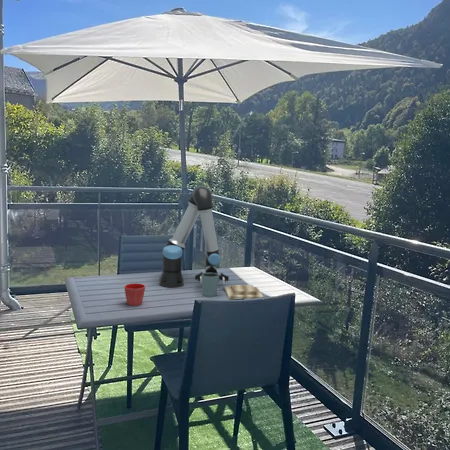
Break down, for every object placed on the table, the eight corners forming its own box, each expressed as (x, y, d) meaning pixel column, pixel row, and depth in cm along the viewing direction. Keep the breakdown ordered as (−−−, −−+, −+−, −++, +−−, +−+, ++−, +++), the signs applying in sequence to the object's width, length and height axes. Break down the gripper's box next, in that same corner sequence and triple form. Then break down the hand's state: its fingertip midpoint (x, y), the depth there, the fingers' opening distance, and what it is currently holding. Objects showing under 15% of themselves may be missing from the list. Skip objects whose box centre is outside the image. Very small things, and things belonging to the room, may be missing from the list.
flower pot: (121, 301, 242) (122, 284, 240) (141, 299, 247) (141, 282, 246) (127, 307, 233) (127, 289, 231) (147, 305, 238) (147, 287, 236)
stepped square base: (228, 299, 254) (229, 292, 254) (224, 289, 274) (224, 283, 274) (263, 300, 257) (263, 293, 257) (256, 290, 277) (256, 283, 276)
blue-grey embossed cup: (199, 296, 259) (200, 275, 257) (202, 291, 269) (203, 271, 267) (216, 297, 257) (217, 277, 256) (219, 292, 267) (220, 273, 265)
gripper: (230, 278, 287) (233, 288, 266) (191, 277, 286) (190, 287, 265) (231, 267, 286) (233, 276, 265) (191, 266, 285) (191, 274, 264)
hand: (212, 281), depth 265 cm, fingers open, 13 cm apart
